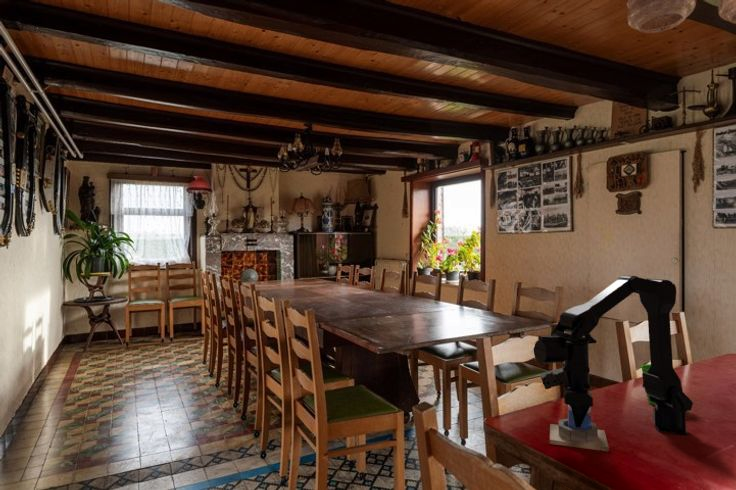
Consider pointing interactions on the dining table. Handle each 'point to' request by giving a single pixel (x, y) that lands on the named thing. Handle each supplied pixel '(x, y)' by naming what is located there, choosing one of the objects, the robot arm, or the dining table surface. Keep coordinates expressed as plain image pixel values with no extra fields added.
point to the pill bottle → (586, 421)
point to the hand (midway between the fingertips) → (577, 422)
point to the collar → (578, 436)
